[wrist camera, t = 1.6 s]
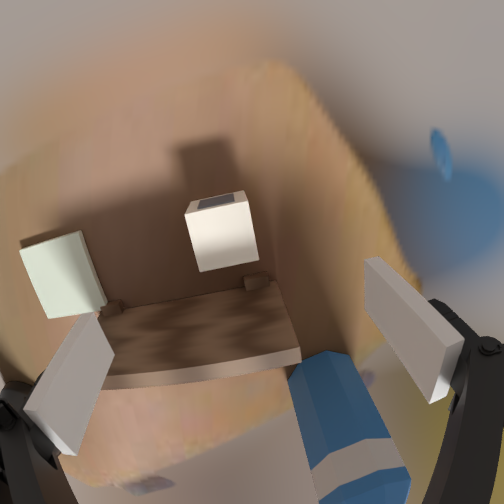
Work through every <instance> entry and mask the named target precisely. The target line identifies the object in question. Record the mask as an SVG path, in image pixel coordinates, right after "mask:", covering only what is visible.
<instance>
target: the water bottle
mask: <svg viewBox="0 0 504 504" xmlns="http://www.w3.org/2000/svg"><path fill="white" fill-rule="evenodd" d="M288 385H289V389H290V393H291V397H292V401H293V404H294V408H295V412H296V416H297V420H298V424H299V427H300V431H301V435H302V439H303V443H304V447H305V451H306V455H307V458H308V462H309V466H310V470H311V474H312V478H313V482H314V485H315V489H316V493H317V497H318V501H319V504H406V501H407V498H408V494H409V491H410V486H411V478H410V476H409V473H408V471H407V469H406V467H405V465H404V463H403V461H402V459H401V457H400V455H399V452H398V450H397V449H396V446H395V444H394V442H393V440H392V438H391V436H390V434H389V432H388V430H387V428H386V426H385V424H384V422H383V420H382V418H381V416H380V414H379V412H378V410H377V408H376V406H375V405H374V402H373V400H372V398H371V396H370V394H369V392H368V390H367V388H366V386H365V385H364V383H363V381H362V379H361V377H360V375H359V373H358V371H357V369H356V367H355V365H354V364H353V362H352V360H351V358H350V356H349V355H346V354H341V353H337V352H332V351H327V350H326V351H324V352H321V353H319V354H317V355H314V356H312V357H310V358H307V359H305V360H302V363H299V364H298V365H297V367H296V368H295V370H294V371H293V373H292V375H291V376H290V378H289V379H288Z"/></svg>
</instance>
